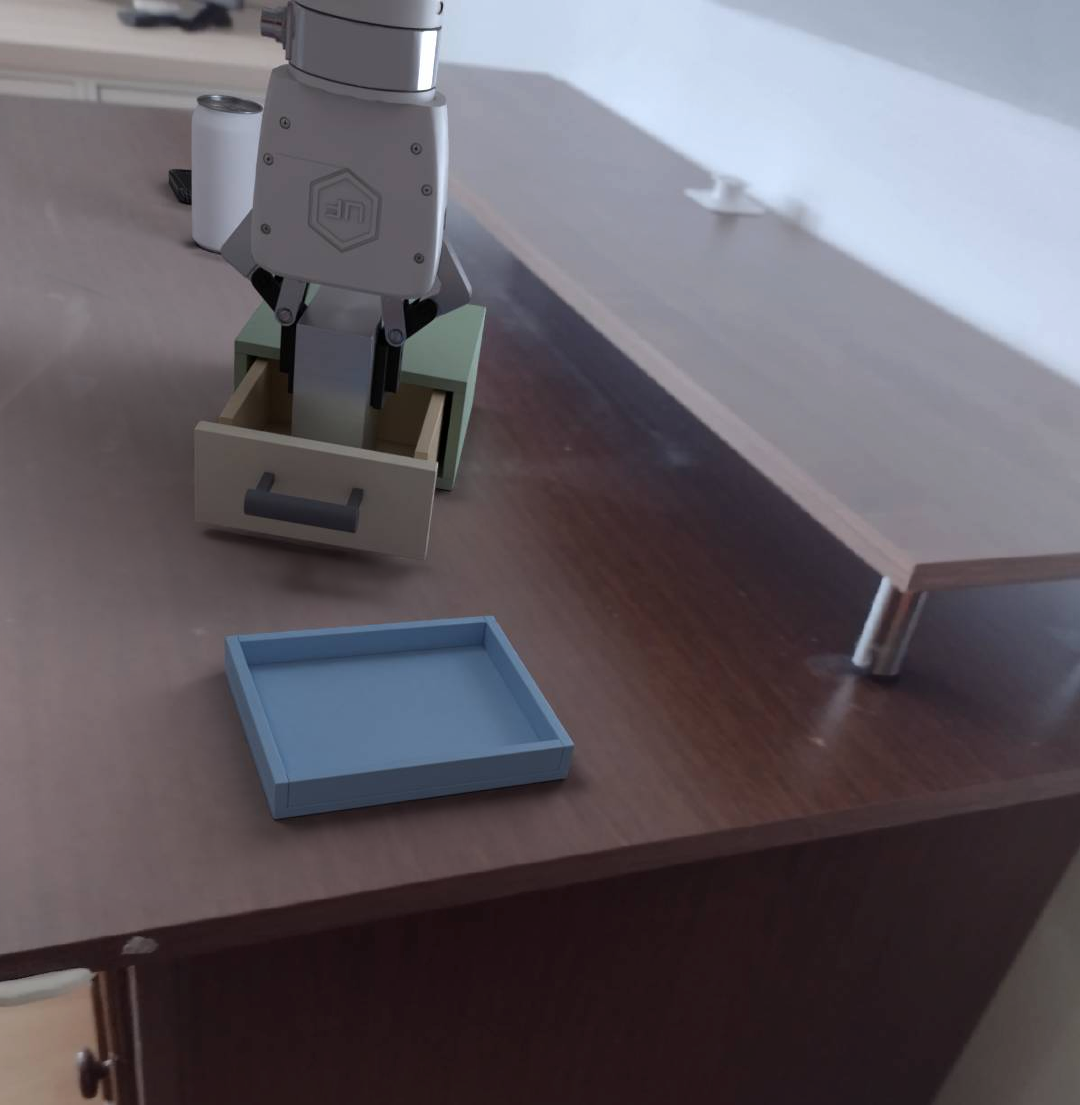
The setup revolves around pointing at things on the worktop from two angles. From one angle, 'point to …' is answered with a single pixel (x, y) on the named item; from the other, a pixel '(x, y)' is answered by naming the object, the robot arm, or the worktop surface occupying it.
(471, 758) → the tray
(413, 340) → the cabinet
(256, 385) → the drawer
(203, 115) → the can
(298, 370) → the brushed metal block
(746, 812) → the worktop surface
